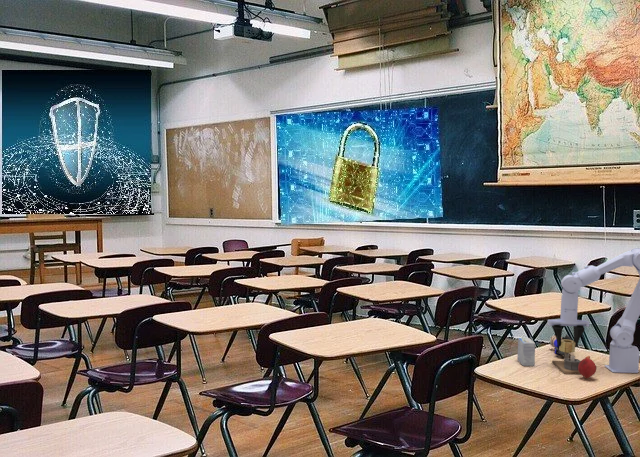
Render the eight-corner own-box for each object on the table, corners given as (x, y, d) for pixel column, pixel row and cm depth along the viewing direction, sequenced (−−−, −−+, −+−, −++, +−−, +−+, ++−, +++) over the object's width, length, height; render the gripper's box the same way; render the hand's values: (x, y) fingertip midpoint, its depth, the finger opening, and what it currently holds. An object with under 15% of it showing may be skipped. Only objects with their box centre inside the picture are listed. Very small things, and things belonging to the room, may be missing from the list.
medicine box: (534, 366, 268) (535, 343, 267) (522, 366, 268) (523, 342, 267) (528, 360, 276) (530, 337, 275) (516, 360, 276) (518, 337, 275)
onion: (586, 381, 251) (588, 358, 250) (573, 377, 256) (575, 354, 255) (599, 379, 253) (600, 357, 253) (586, 375, 258) (587, 352, 258)
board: (579, 363, 273) (580, 349, 273) (592, 374, 259) (593, 359, 259) (552, 363, 273) (552, 348, 273) (564, 374, 259) (565, 358, 259)
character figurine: (555, 359, 280) (548, 349, 294) (575, 359, 279) (567, 349, 294) (555, 339, 279) (548, 330, 294) (575, 338, 278) (567, 329, 293)
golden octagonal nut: (572, 349, 271) (573, 339, 271) (575, 353, 266) (576, 343, 266) (558, 348, 272) (559, 338, 271) (560, 352, 267) (561, 342, 266)
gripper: (585, 306, 272) (583, 343, 273) (545, 305, 272) (543, 342, 273) (592, 310, 265) (590, 348, 266) (551, 309, 265) (549, 347, 266)
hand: (567, 345), depth 269 cm, fingers closed on golden octagonal nut, 5 cm apart
